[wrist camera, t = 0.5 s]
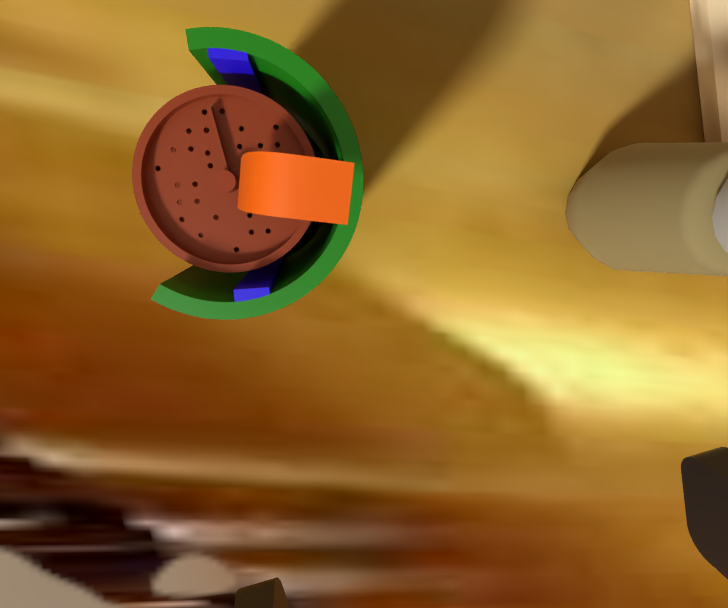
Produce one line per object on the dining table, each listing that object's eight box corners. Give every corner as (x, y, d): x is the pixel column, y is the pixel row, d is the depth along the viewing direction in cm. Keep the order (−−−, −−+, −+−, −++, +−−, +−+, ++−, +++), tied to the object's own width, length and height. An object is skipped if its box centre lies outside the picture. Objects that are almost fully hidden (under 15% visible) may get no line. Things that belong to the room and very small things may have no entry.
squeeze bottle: (571, 132, 36) (832, 68, 18) (674, 167, 37) (1009, 138, 20) (533, 248, 37) (742, 291, 19) (633, 277, 38) (914, 343, 21)
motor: (190, 109, 33) (27, -25, 13) (334, 103, 34) (380, -30, 14) (209, 271, 35) (92, 362, 15) (344, 261, 36) (396, 336, 16)
